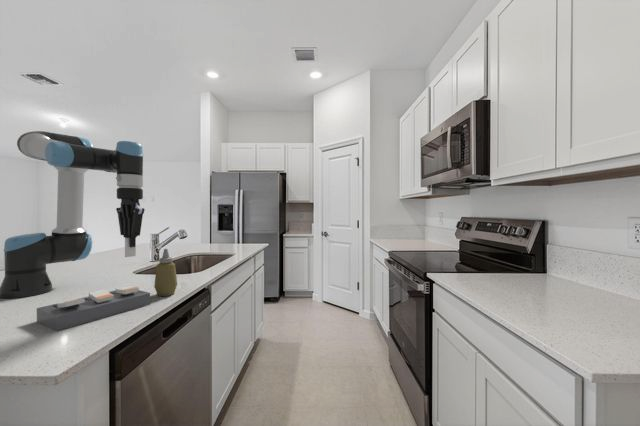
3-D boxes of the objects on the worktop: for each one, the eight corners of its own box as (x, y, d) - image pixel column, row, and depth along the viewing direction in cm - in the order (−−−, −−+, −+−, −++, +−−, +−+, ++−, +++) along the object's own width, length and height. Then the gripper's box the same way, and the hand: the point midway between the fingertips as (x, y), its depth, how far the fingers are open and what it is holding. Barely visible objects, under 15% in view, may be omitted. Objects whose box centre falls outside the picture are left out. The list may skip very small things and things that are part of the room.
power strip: (28, 317, 91) (27, 302, 91) (118, 295, 114) (118, 283, 114) (57, 331, 81) (57, 314, 81) (150, 304, 104) (150, 291, 104)
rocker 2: (115, 292, 102) (115, 288, 102) (129, 289, 106) (129, 285, 106) (125, 294, 99) (125, 290, 99) (138, 291, 103) (138, 287, 103)
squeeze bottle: (167, 298, 111) (167, 250, 111) (149, 296, 113) (149, 250, 112) (181, 292, 119) (181, 247, 119) (164, 290, 121) (164, 247, 120)
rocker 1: (57, 307, 88) (57, 303, 88) (75, 303, 91) (75, 299, 92) (66, 306, 85) (66, 302, 85) (84, 302, 89) (84, 298, 89)
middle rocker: (88, 296, 95) (88, 292, 94) (103, 292, 99) (104, 289, 98) (97, 302, 92) (98, 299, 92) (113, 299, 96) (113, 295, 96)
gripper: (107, 187, 100) (108, 256, 101) (129, 186, 94) (129, 259, 95) (130, 188, 107) (130, 253, 107) (152, 188, 101) (152, 256, 101)
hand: (130, 256), depth 101 cm, fingers closed
